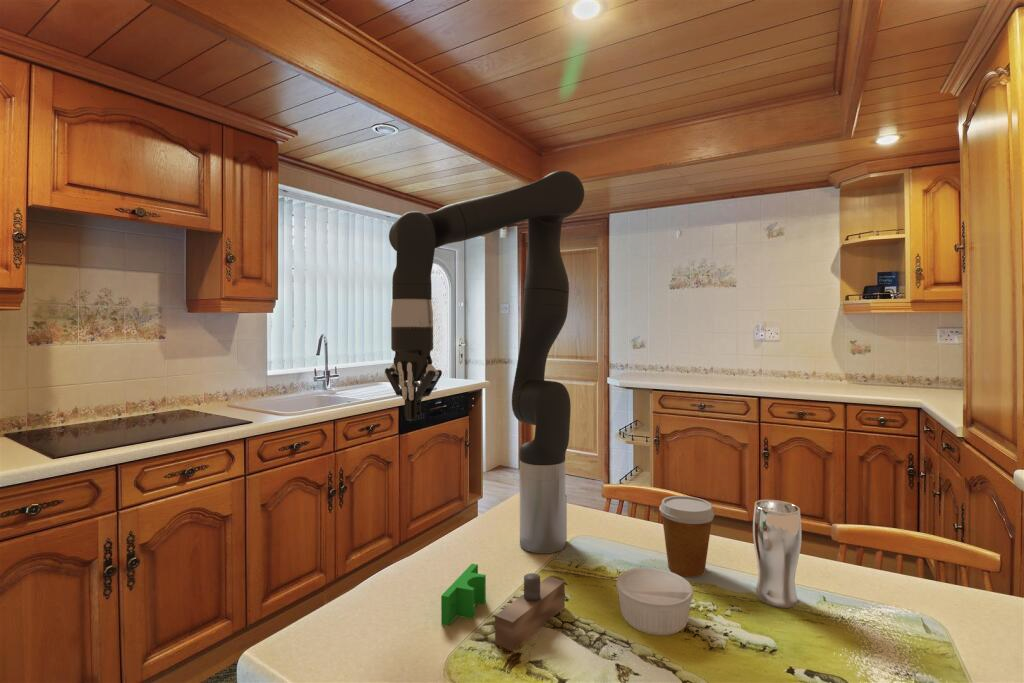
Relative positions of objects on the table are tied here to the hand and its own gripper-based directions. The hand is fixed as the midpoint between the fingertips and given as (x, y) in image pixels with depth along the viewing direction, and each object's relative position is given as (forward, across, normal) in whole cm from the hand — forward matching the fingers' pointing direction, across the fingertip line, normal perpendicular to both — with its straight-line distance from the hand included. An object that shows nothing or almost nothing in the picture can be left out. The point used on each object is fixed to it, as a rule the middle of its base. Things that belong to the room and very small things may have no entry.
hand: (412, 420), depth 95 cm
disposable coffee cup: (+27, -41, -28) cm, 57 cm away
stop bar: (+27, -28, +3) cm, 39 cm away
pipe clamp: (+27, -17, +5) cm, 33 cm away
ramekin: (+27, -42, -9) cm, 51 cm away
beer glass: (+27, -56, -26) cm, 67 cm away
